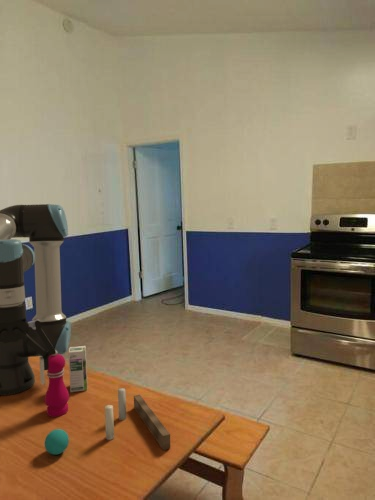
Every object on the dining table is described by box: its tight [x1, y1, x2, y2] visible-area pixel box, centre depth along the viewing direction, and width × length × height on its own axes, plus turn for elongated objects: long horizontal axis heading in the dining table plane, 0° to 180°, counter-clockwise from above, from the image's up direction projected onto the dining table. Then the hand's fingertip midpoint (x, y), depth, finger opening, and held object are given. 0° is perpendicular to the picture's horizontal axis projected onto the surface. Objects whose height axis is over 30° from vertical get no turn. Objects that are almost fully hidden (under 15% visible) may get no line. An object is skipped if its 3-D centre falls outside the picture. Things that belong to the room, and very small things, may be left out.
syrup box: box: [68, 345, 88, 393], centre depth 136 cm, size 6×6×14 cm
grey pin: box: [117, 387, 127, 421], centre depth 117 cm, size 2×2×9 cm
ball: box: [44, 428, 70, 456], centre depth 101 cm, size 6×6×6 cm
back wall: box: [133, 394, 171, 451], centre depth 113 cm, size 24×2×4 cm, turn 26°
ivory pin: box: [104, 404, 115, 441], centre depth 107 cm, size 2×2×9 cm
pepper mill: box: [44, 350, 70, 418], centre depth 120 cm, size 7×7×20 cm
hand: (13, 388), depth 95 cm, fingers open, 13 cm apart
